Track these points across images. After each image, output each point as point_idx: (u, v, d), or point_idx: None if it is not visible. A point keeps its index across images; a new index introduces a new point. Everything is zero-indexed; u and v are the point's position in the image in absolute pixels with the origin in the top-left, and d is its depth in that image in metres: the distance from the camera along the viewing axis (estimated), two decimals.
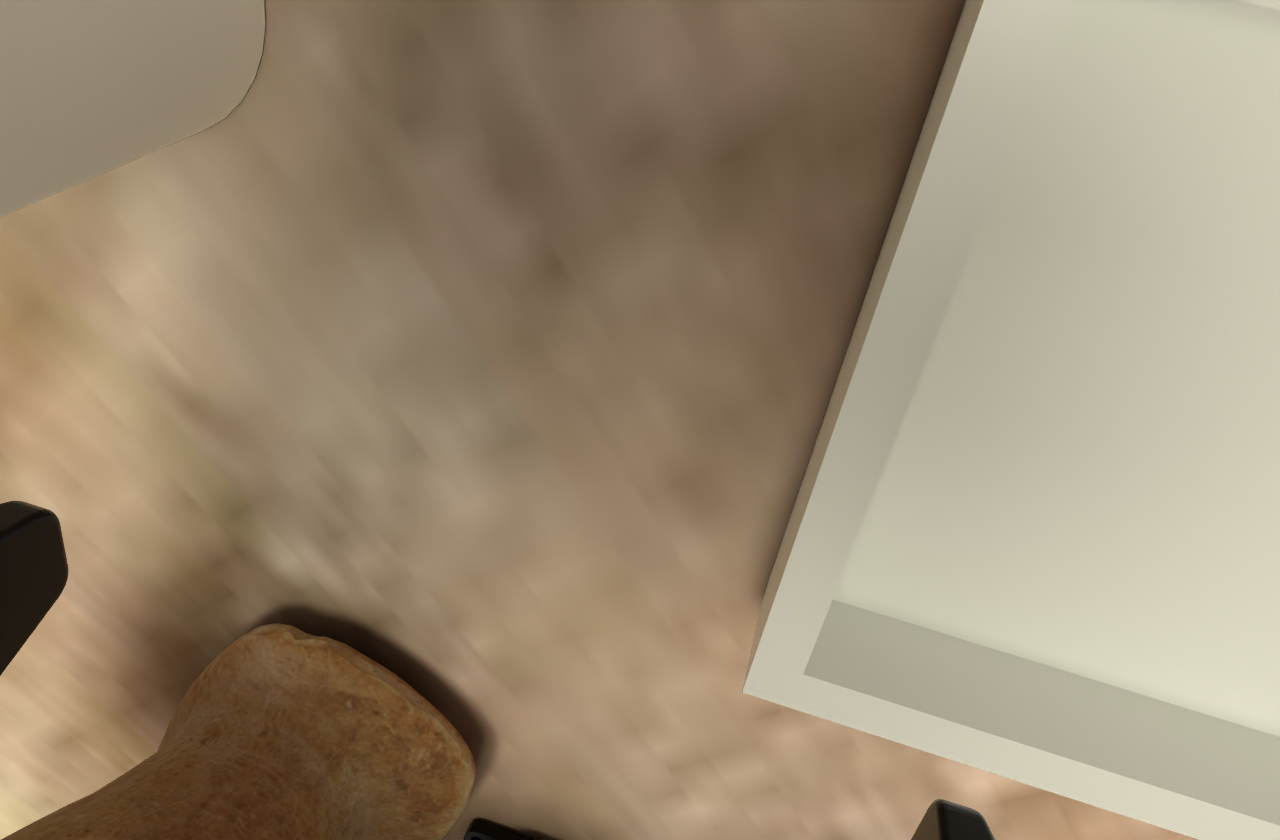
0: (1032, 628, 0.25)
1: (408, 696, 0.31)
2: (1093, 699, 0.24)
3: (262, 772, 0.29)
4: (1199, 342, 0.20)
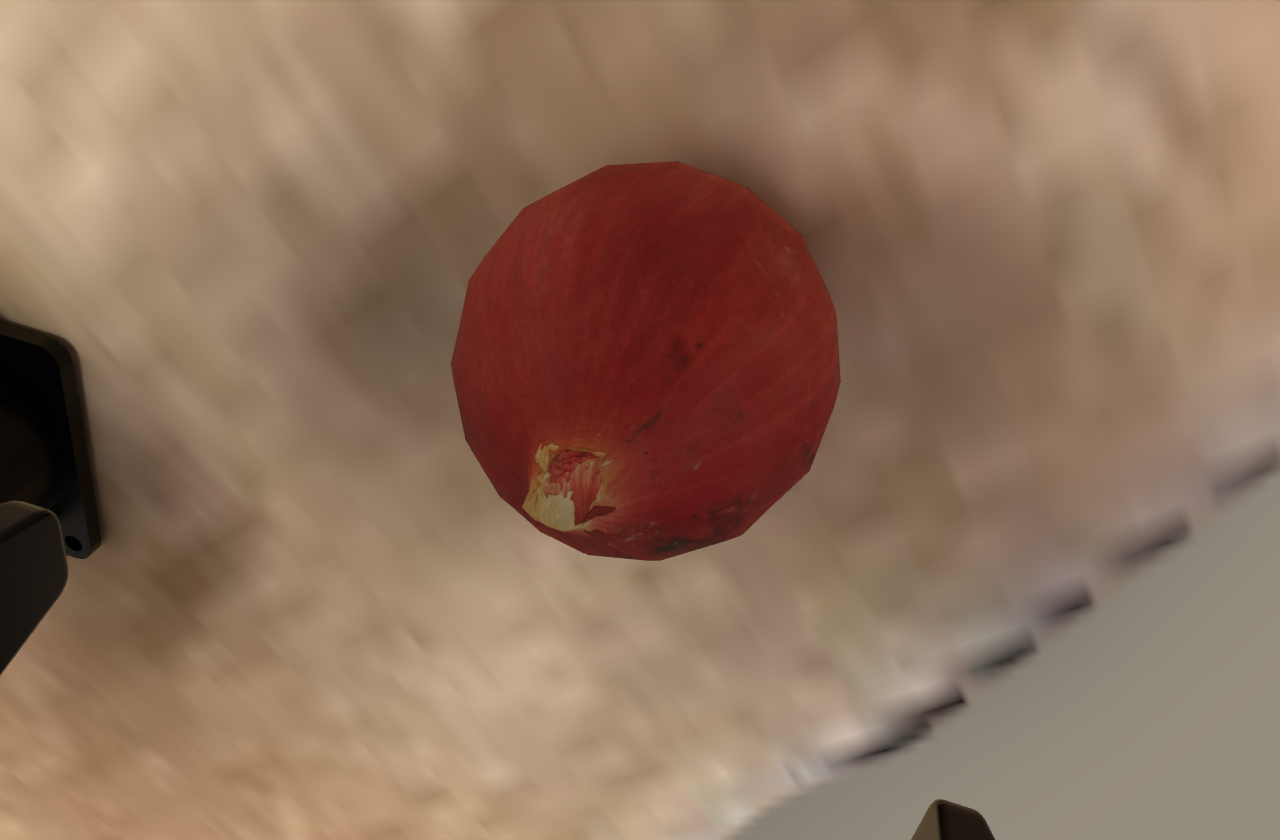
0: None
1: None
2: None
3: None
4: None
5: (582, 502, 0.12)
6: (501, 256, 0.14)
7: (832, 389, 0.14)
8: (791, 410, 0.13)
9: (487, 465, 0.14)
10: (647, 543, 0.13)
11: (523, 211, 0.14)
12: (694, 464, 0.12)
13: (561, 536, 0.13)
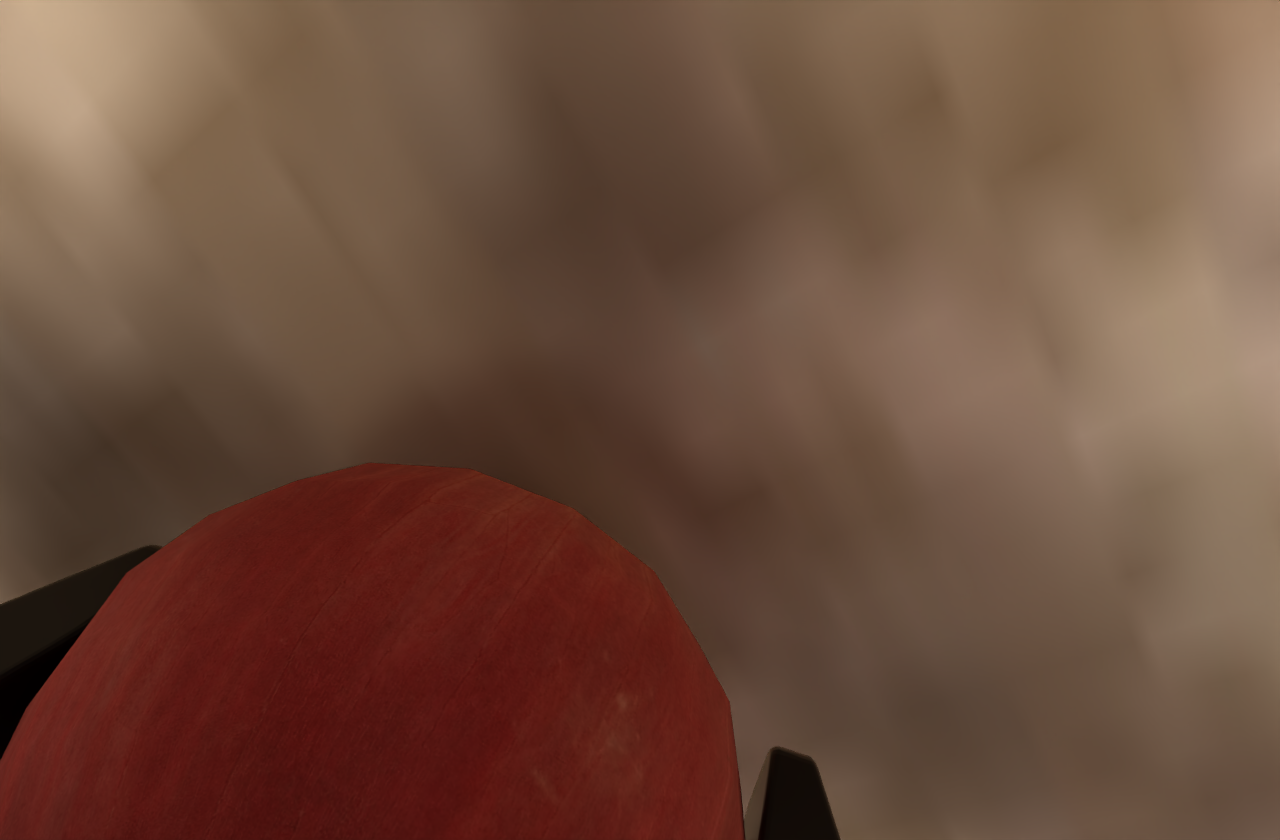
0: None
1: None
2: None
3: None
4: None
5: None
6: (33, 716, 0.07)
7: None
8: None
9: None
10: None
11: (119, 585, 0.07)
12: None
13: None
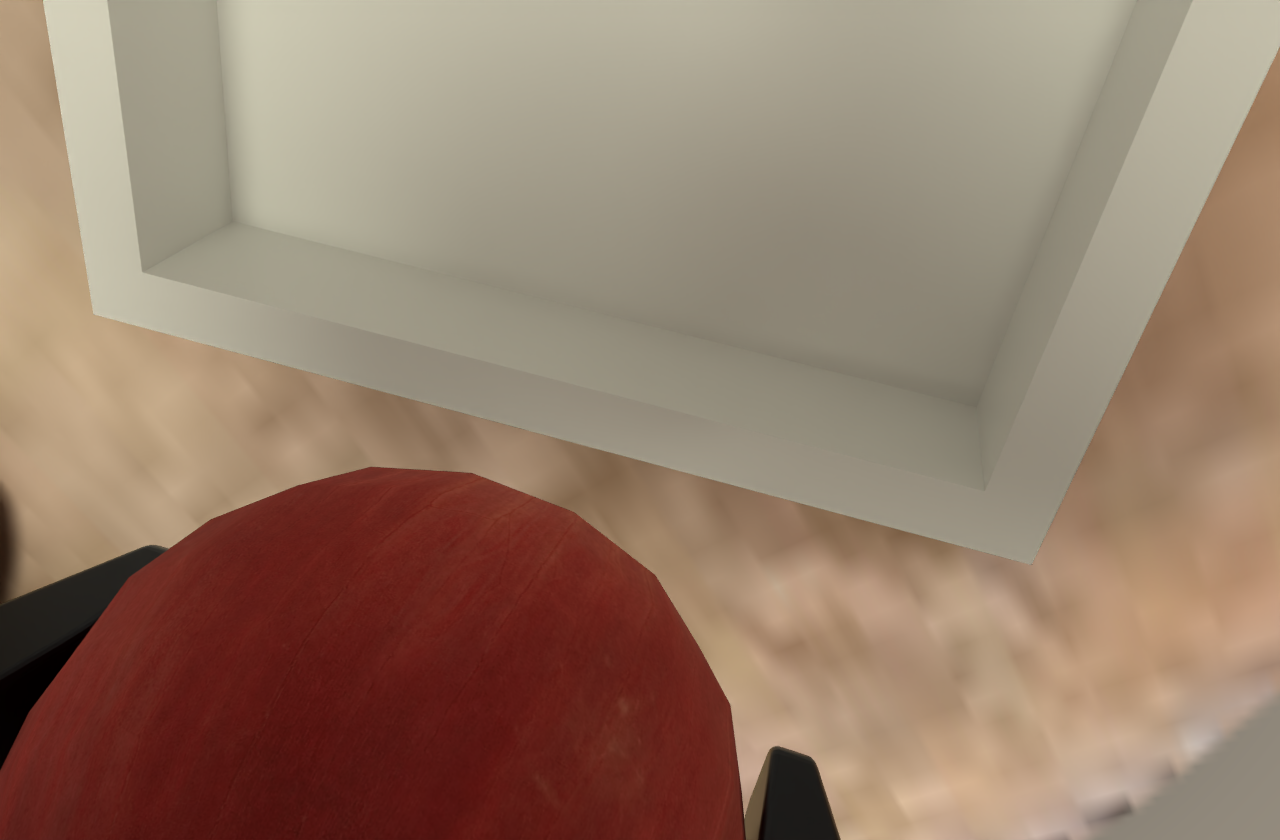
0: (470, 234, 0.20)
1: None
2: (541, 315, 0.19)
3: None
4: None
5: None
6: (36, 721, 0.07)
7: None
8: None
9: None
10: None
11: (122, 590, 0.07)
12: None
13: None
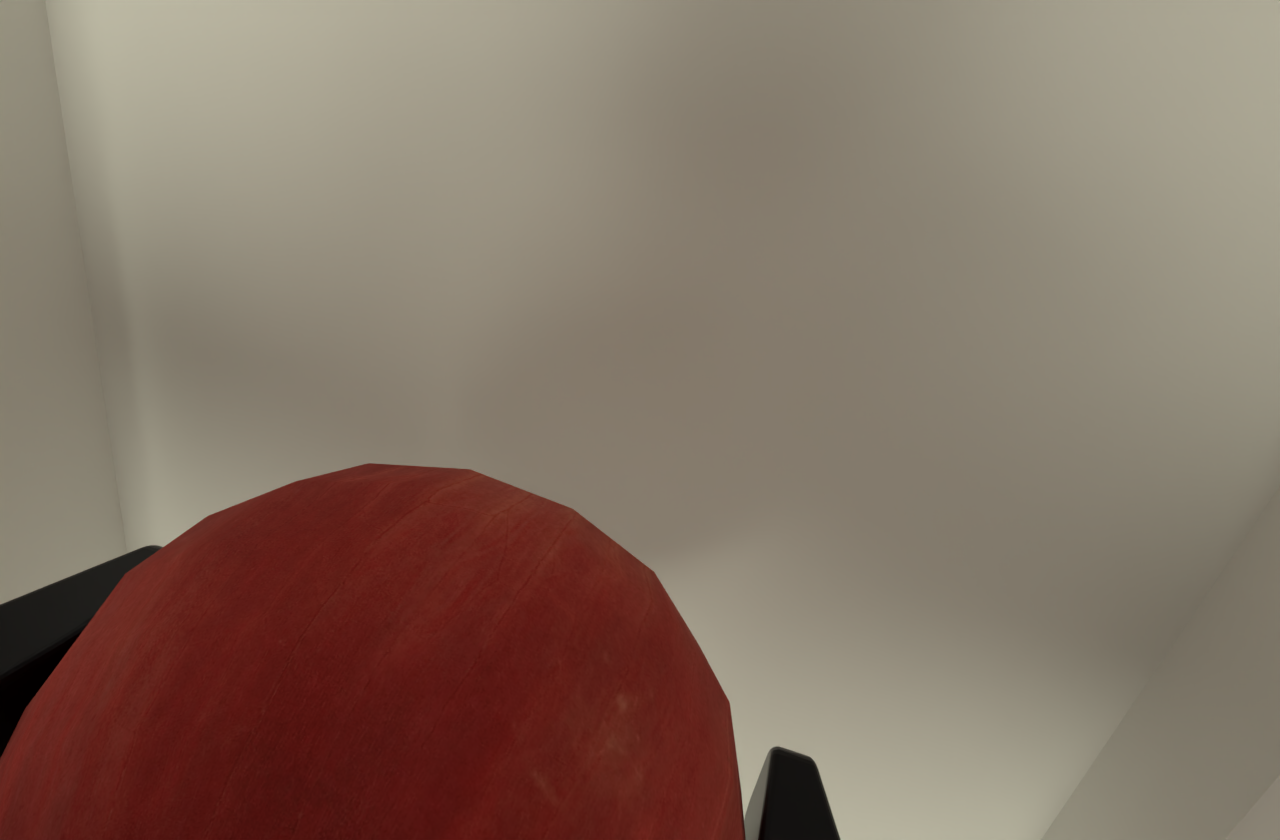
0: None
1: None
2: None
3: None
4: (442, 282, 0.13)
5: None
6: (31, 718, 0.07)
7: None
8: None
9: None
10: None
11: (118, 586, 0.07)
12: None
13: None
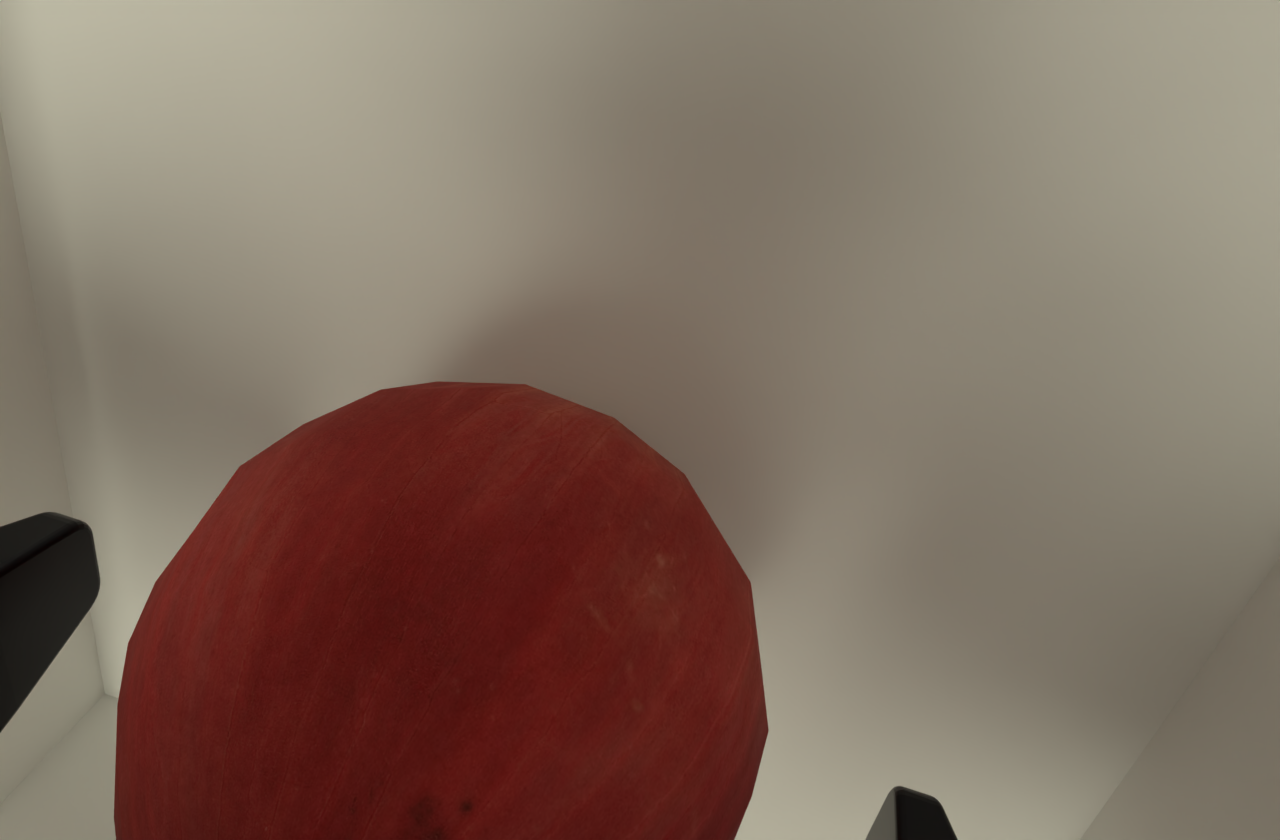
0: None
1: None
2: None
3: None
4: (406, 317, 0.12)
5: None
6: (172, 574, 0.08)
7: (746, 777, 0.08)
8: None
9: None
10: None
11: (234, 475, 0.09)
12: None
13: None
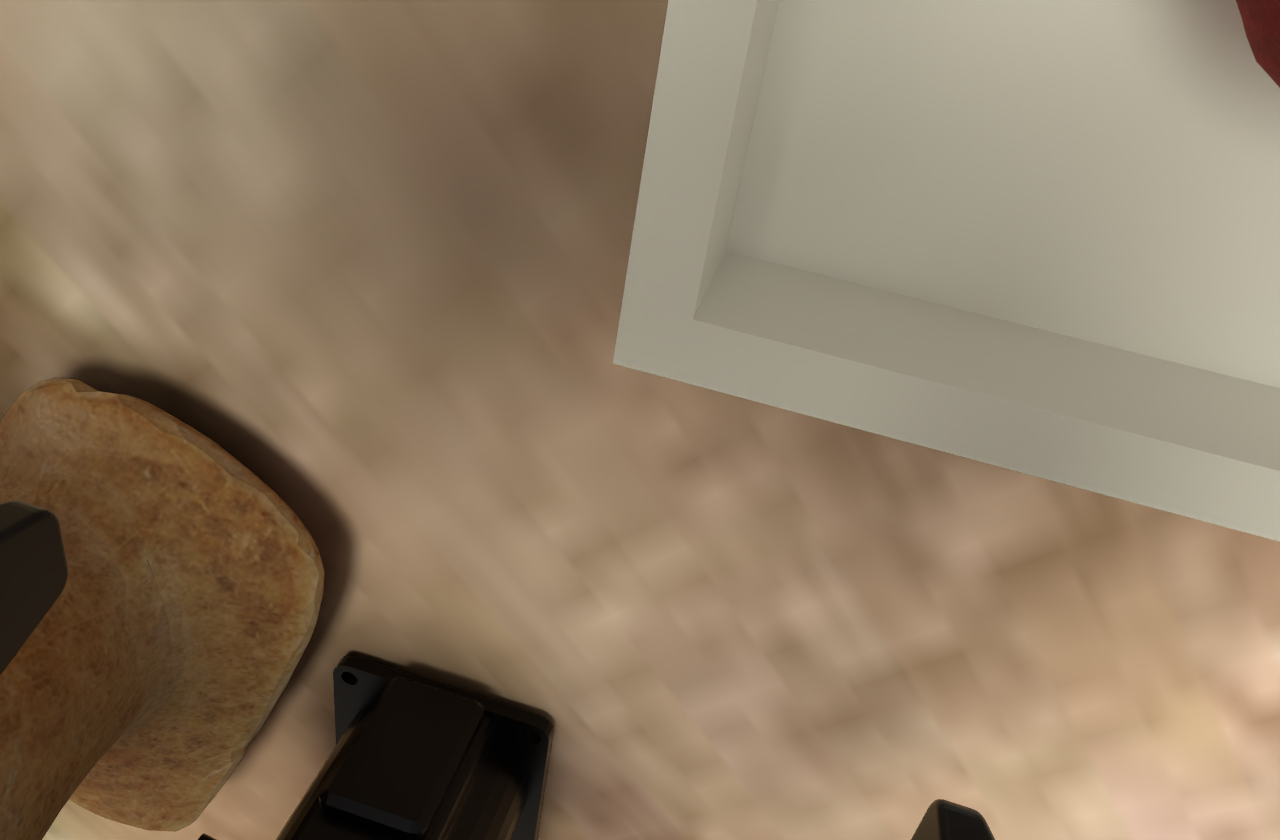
0: (1030, 271, 0.17)
1: (225, 464, 0.24)
2: (1120, 366, 0.17)
3: None
4: None
5: None
6: None
7: None
8: None
9: None
10: None
11: None
12: None
13: None
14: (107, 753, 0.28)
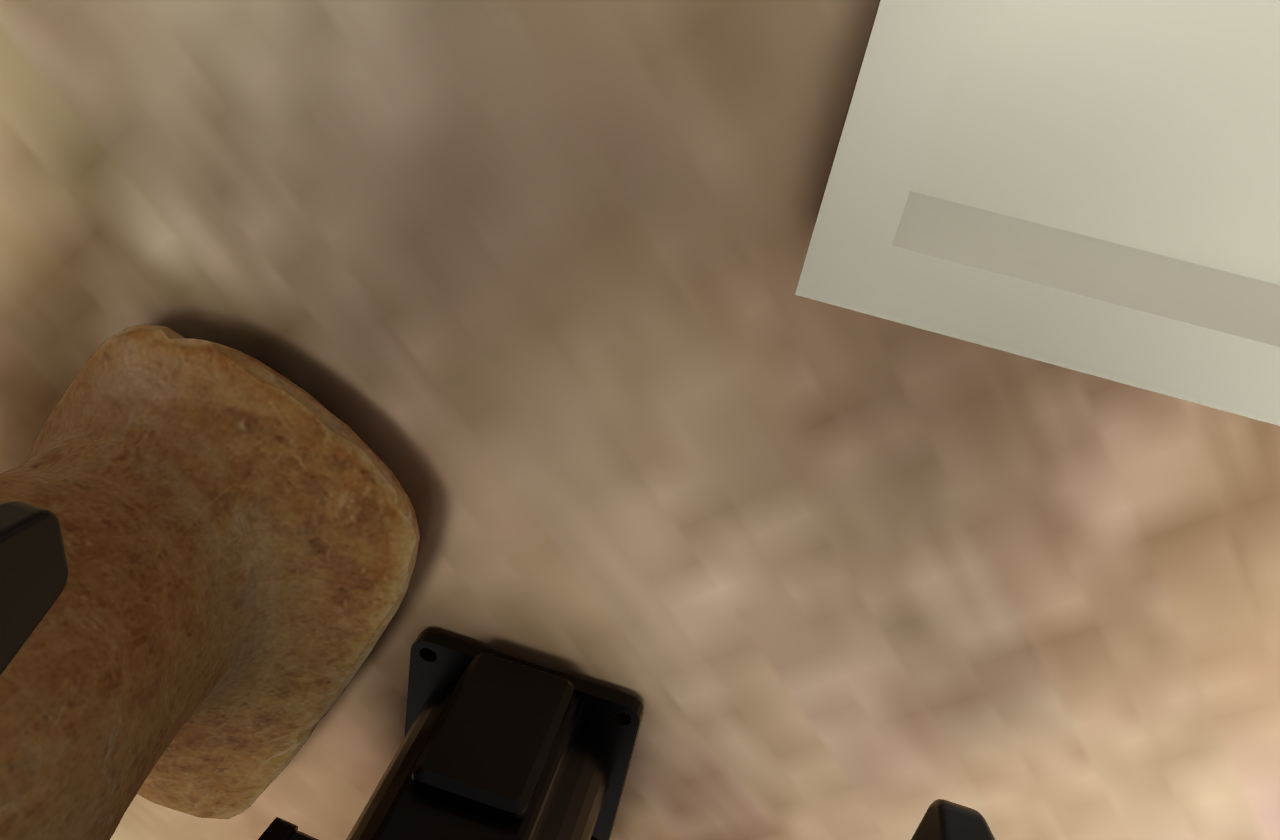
0: (1227, 209, 0.16)
1: (324, 418, 0.22)
2: None
3: (112, 499, 0.21)
4: None
5: None
6: None
7: None
8: None
9: None
10: None
11: None
12: None
13: None
14: None
